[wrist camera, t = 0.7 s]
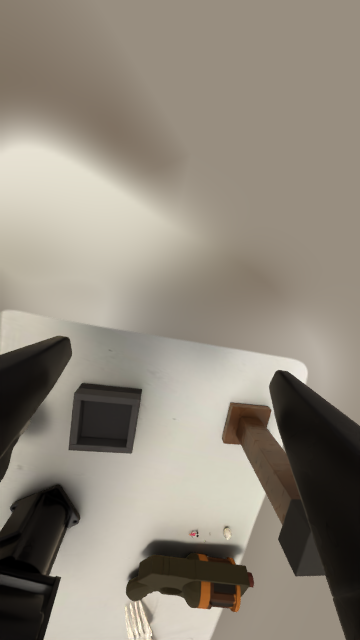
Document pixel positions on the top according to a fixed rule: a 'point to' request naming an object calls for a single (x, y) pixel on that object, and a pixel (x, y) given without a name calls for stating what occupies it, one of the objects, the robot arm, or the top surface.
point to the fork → (144, 635)
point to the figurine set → (226, 533)
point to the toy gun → (192, 580)
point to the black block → (299, 542)
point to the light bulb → (2, 463)
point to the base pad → (104, 418)
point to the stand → (262, 453)
